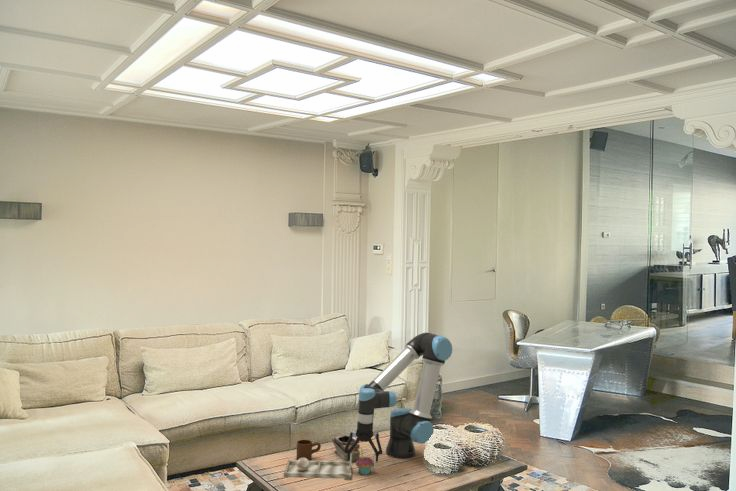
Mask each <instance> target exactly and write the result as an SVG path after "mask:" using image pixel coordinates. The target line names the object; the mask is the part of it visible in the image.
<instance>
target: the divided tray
mask: <svg viewBox="0 0 736 491" xmlns="http://www.w3.org/2000/svg"><path fill="white" fill-rule="evenodd" d="M349 467H350V462H345V461H344V460H343V461H342V460H341V461H340V460H339V461H335V460H334V461H333V460H332V461H331V460H311V461H309V467H308V469H307V470H305V471H301V470H299V469H298V468H297V459H296V460H292V459H291V460H289V459H288V460H287V461H286V466H285V468H284V471H283V477H284V478H286V477H287V478H315V479H316V478H323V479H327V478H328V479H344V480H345V481H347V480H348V481H350V480H352V467H351V468H349Z"/></svg>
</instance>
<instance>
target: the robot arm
mask: <svg viewBox="0 0 736 491" xmlns="http://www.w3.org/2000/svg"><path fill="white" fill-rule="evenodd" d="M452 353H453V345H452V343H451V341H450V340H449V338H447V337H445V336H443V335H439V334H435V333H431V332H422V333H420V334H418V335H416V336H414V337H413V338H412V339H410V340H409V341H408V342H407V343H406V344H405V345H404V349H403V350H402V351H401V352H400V353H399V354H398V355H396V357H395V358H394V359H392V360H391V362H390V363H389V364H388V365H387V366H385V368H383V370H382V371H381V372H380V373H378V374H377V376H376V377H374V379H373V380H372V381H370V383H365V384H362V385H361V386H360V387H359V390H358V391H359V395H358V406H357V407H358V409H357V410H358V412H357V424H356V431H352V430H350V432H349V435H350V437H349V439H348V442H347V444H346V446H345V449H344V452H347V453H348V460H350V467H349V468H351V469H352V462H351V461H352V450H353V449H354V448H355V446H356V445H357V444H360V442H368V443H369V445H370V446H371V448H372V450H373V452H374V454H373V463H374V466H373V470H376V462H377V463H378V462H379V455H383V449H382V445H381V442H380V439H379V438H380V435H379V432H373V431H374V430H373V429H374V423H373V422H374V417H375V416H374V415H375V410H376V409H385V408H392V407H394V406H396V405H397V400H398V399H397V395H396V392H394V391H392V390H388V391H385V390H386V389H387V388H388V387H389V386H390V385H391V384H392V383H393V382H394V381H395V380H396V379H397V378H398V377H399V376H400V375H401V374H402V372H405V370H406V369H407V368H408V367H409V366H410V365H411V364H412V363H413V362H414V361H415V360H418V359H420V358H422V360H423V366H422V367H423V368H422V369H421V370H422V371H421V375H420V379H419V384H418V387H417V393H416V394H415V395H416V397H415V400H414V405H413V408H406V407H405V408H404V407H403V408H401V407H400V408H395V409H392V410H391V411H390V415H389V439H388V442H387V445H386V448H385V454H386V455H387V456H389V457H392V458H396V459H409V458H413V457H414V456H415V455H416V449H415V445H414V443H417V444H425V443H427V442H428V441H430V440H429V438H430V437H431V435H432V434H433V435H434V431H435V430H434V425H433V423H432V422H431V421H432V418H433V417H432V415H431V409H432V404H433V402H434V401H433V400H434V397H435V393H436V389H437V384H438V380H439V375H440V371H441V368H442V367H443V366H444V365H445V363H446V361H447V360H449V358H451V356H452ZM433 435H432V436H433ZM355 436H356V437H357V438H356V440H355V442H354V443H353V444H352V446H351V447H350V448H349V449H348V447H349V445H350V443H351V440H352V437H355ZM373 437H374V438H375V440H376V443H377V447H376V446H375V443H374V441H373V440H372V438H373ZM431 438H432V437H431ZM431 438H430V439H431ZM377 448H378V449H377Z"/></svg>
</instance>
